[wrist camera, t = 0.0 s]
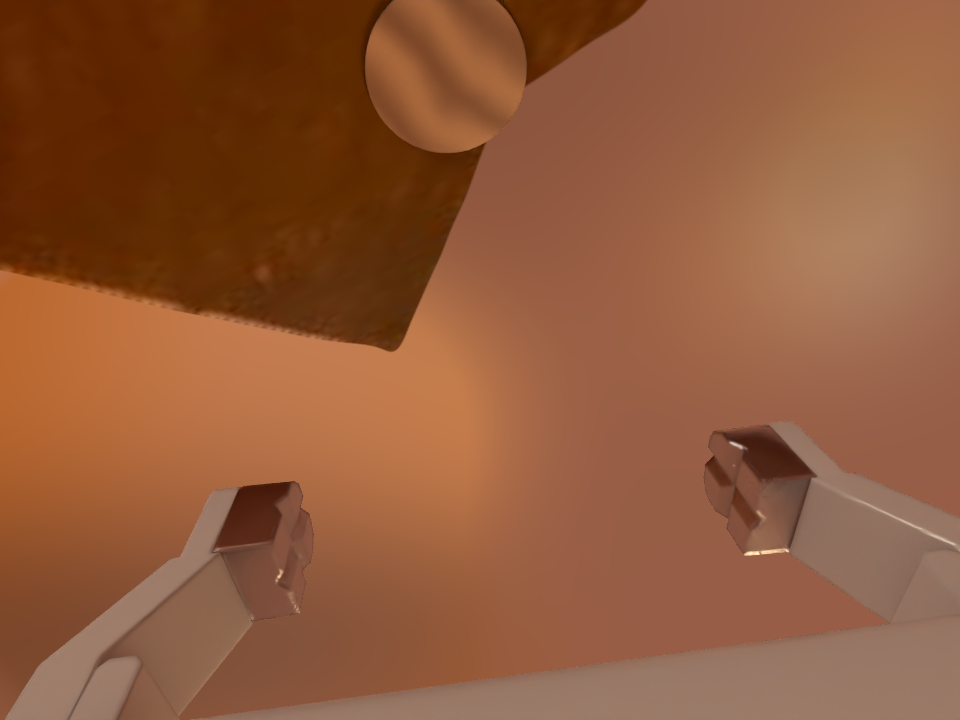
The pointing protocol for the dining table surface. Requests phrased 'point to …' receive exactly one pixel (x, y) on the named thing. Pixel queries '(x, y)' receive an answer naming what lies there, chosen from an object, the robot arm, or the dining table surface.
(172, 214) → the dining table surface
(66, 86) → the dining table surface
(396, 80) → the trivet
